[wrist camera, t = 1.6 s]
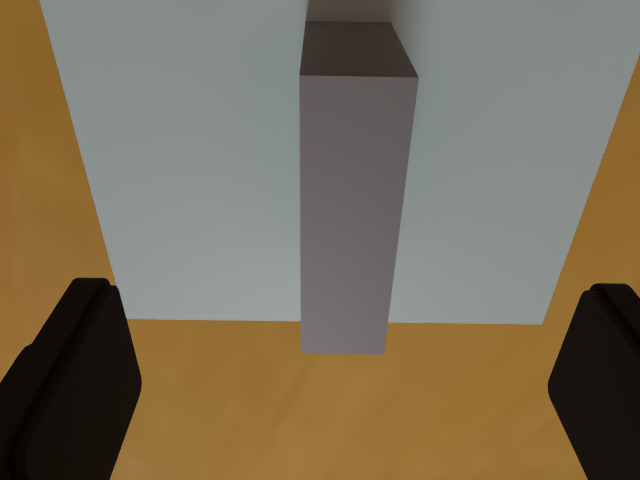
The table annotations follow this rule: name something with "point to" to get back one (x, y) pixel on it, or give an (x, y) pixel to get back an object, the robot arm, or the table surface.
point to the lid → (342, 153)
